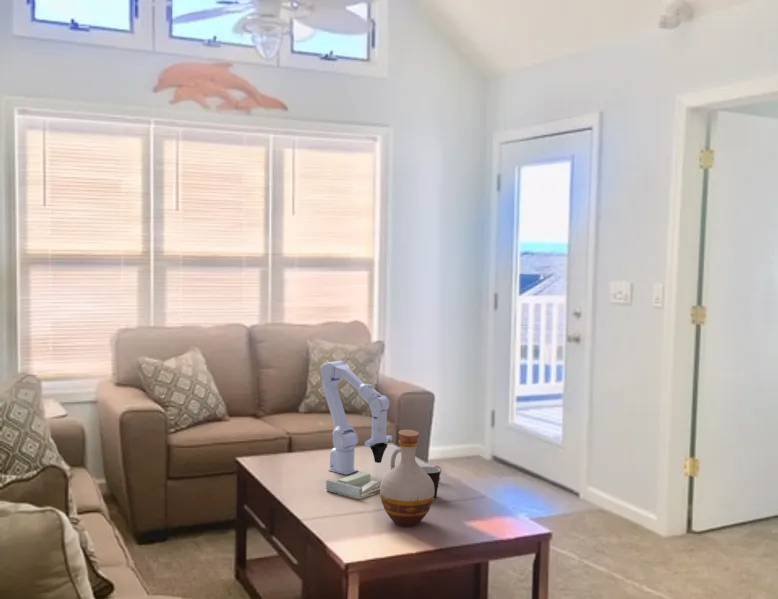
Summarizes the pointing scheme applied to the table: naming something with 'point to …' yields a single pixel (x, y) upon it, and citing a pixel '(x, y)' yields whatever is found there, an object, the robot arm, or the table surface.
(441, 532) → the table surface
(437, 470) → the coffee mug
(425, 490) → the jug
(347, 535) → the table surface
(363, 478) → the sage bar
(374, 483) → the white bar
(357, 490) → the organizer
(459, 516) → the table surface
